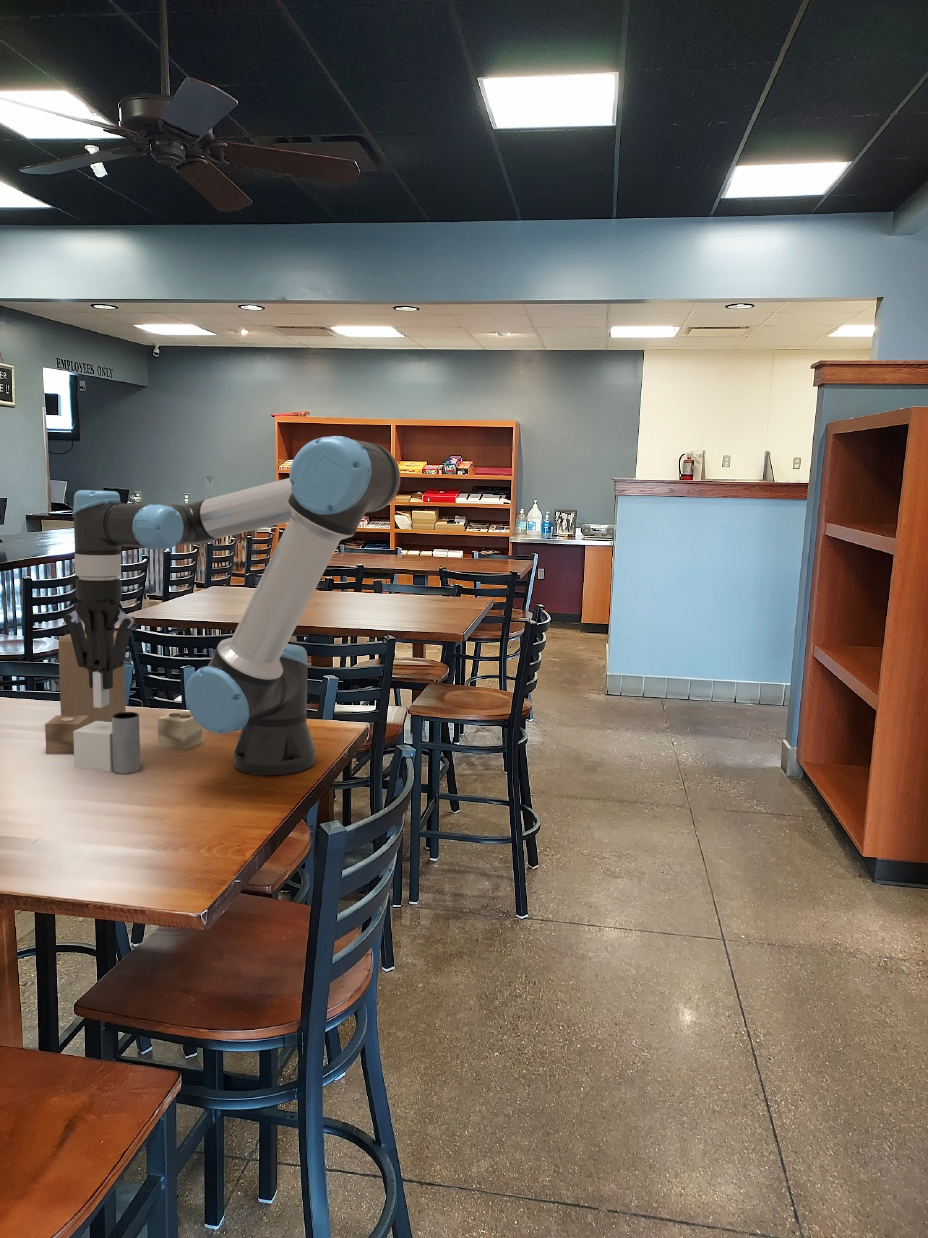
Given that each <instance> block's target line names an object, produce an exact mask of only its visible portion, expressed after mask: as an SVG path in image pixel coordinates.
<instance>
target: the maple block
mask: <svg viewBox="0 0 928 1238" xmlns="http://www.w3.org/2000/svg"><path fill="white" fill-rule="evenodd" d="M202 743H203V727H202V726H201V725H199V724H198V723H197V722H196V720H195V719H194V718H193V716H192V715H191V713H190V711H187V712H186V711H181V710H175V711H172V712H169V713H168V714H165V715H162V716H159V717H157V747H158V748H163V749H169V750H176V751H181V752H184V751H187V750H188V749H191V748H194V747H195V746H197V745H200V744H202Z"/></svg>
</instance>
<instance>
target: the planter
mask: <svg viewBox="0 0 928 1238" xmlns="http://www.w3.org/2000/svg"><path fill="white" fill-rule="evenodd" d="M140 737H141V736H140V714H139V712H135V711H126V712H121V713H116V714H114V715H112V744H113V770H112V772H113V773H115V774H118V775H127V774H134V773H137V772H138V771H139V770H140V769H141V742H140V740H141V739H140Z"/></svg>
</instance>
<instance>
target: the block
mask: <svg viewBox="0 0 928 1238" xmlns="http://www.w3.org/2000/svg"><path fill="white" fill-rule="evenodd" d="M84 633H85V629H84ZM116 635H117V630H115V632H114V634H113V637H114V644H115V639H116ZM85 637H86V634H85ZM57 642H58V643H57V644H58V672H59V673H58V674H59V675H58V676H59V698H60V715H74V716H89V724H90V723H93V722H95V721H103V722H112V715H114V714H116V713H121V712H127V711H126V676H125V673H126V671H125V668H126V667H125V664H126V663H125V662H124V664H123V666H122V667H120V668H117V669H114V670H113V687H112V688H110V689H109V700H110V704H109V705H107V706H104V707H102V708H97V707H94V702H93V688H90V686H89V671H88V670H87V669H86V668H84V667H79V666H78V663H77V659H76V655H75V651H74V647H73V643H72V639H71V636H70V633H68V634H65V635H62V636H59V638H58V640H57ZM99 669H101V668H99Z"/></svg>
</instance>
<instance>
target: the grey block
mask: <svg viewBox="0 0 928 1238" xmlns="http://www.w3.org/2000/svg"><path fill="white" fill-rule="evenodd" d="M73 734H74V754H73V757H74V758H73V760H74V761H73V762H74V769H81V770H89V771H91V770H92V771H103V772H113V744H112V722H103V721H95V722H93V723H90V724H88V725H86V726H84V727H82V728H79V729H77V730H75V731H73Z"/></svg>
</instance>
